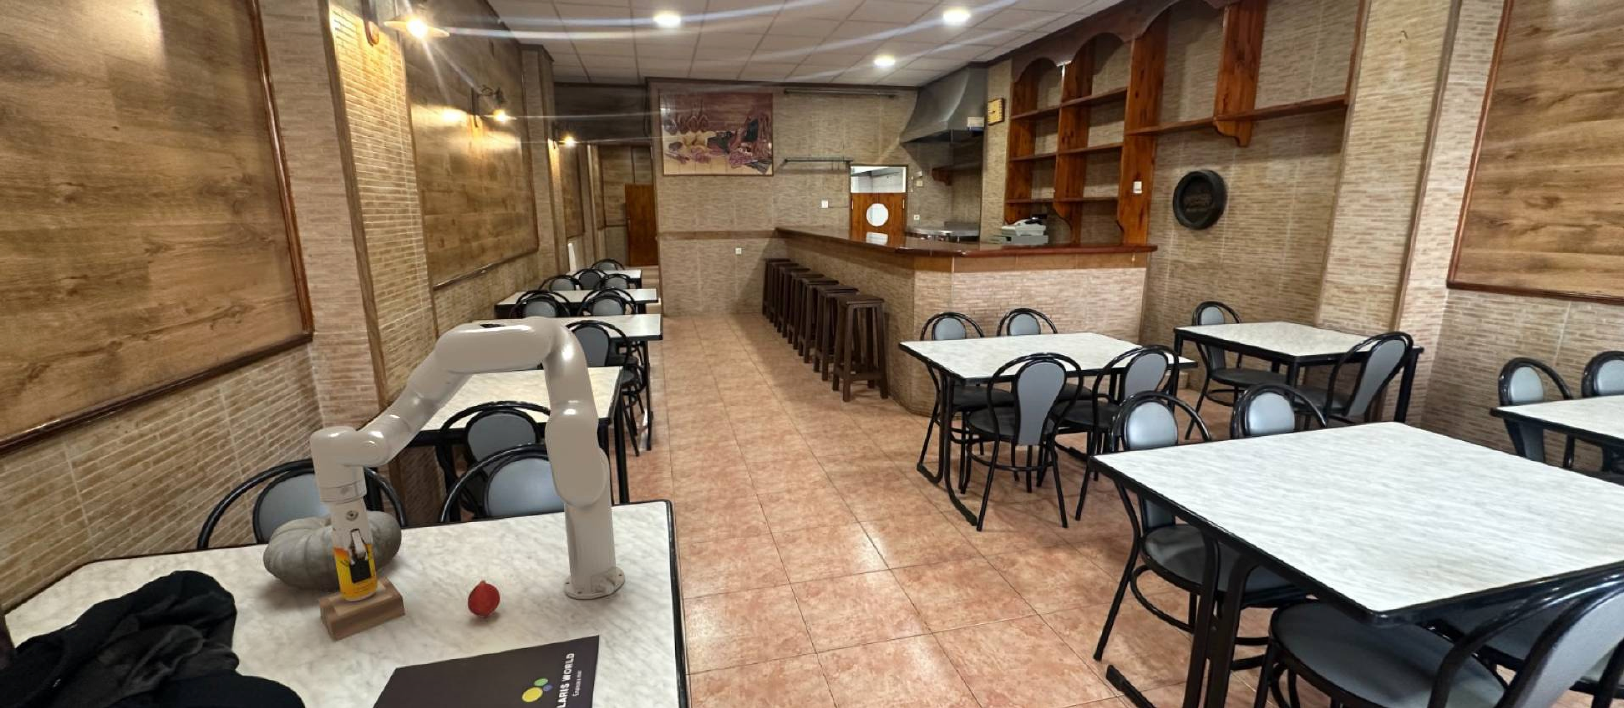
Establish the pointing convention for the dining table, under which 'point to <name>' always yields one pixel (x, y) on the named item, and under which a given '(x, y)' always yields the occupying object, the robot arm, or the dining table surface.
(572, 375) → the robot arm
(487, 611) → the onion
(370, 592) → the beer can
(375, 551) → the gourd
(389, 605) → the walnut plinth
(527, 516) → the dining table surface
